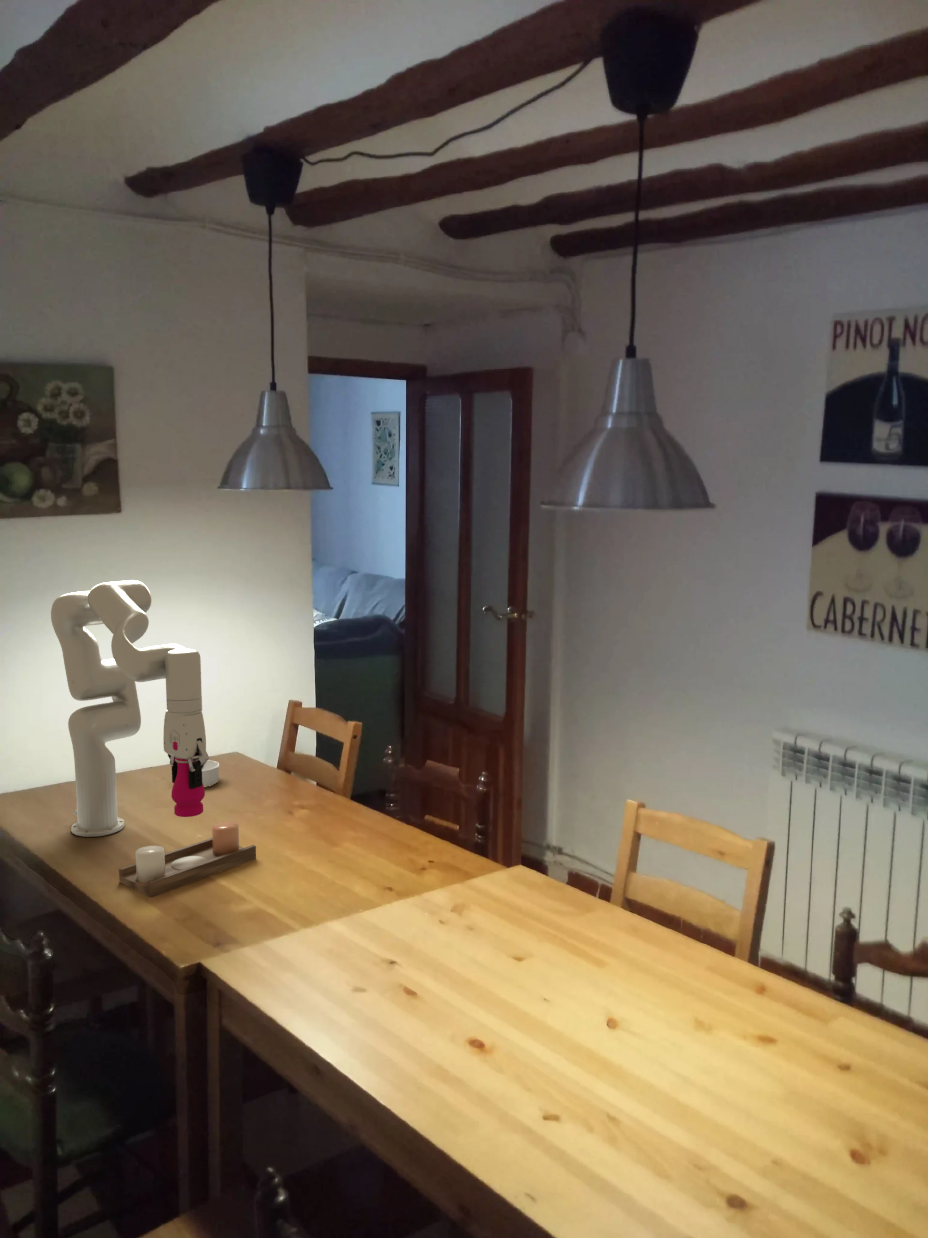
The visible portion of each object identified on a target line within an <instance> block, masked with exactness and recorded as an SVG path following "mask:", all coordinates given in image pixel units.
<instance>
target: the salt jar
mask: <svg viewBox="0 0 928 1238" xmlns="http://www.w3.org/2000/svg"><path fill="white" fill-rule="evenodd" d="M135 863H136V877H137V880H138V881H139V882H144V883H148V881H151V880H154V879H157V878H160V877H163V876H165V848H164V847H163V846H160V845H147V846H143V847H140V848H138V849H136V850H135Z"/></svg>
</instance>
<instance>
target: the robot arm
mask: <svg viewBox="0 0 928 1238" xmlns="http://www.w3.org/2000/svg"><path fill="white" fill-rule="evenodd" d="M151 607H152V594H151V592H150V590H149V588H148V586H147V585H145V583H143V582H142V581H139V580H134V579H131V580H130V579H129V580H119V581H117V580H116V581H108V582H101V583H99V584H96V585H95V586H93V587H92V588H91V589H90V590H84V591H76V592H75V591H74V592H70V593H69V592H68V593H65V594H62V595H59V596H58V597H57V598H56V599H55V600H54V601H53V602H52V604H51V610H50V620H51V625H52V628H53V630H54V634H56V637H57V639H58V642H59V644H60V647H61V651H62V657H63V664H64V669H65V676H66V681H67V686H68V690H69V691H68V692H69V694H70V696H71V697H72V698H73V700H76V701H80V702H81V701H82V702H83V701H84V702H86V701H93V700H99V699H105V698H110V697H111V699H112V701H110V702H105V703H98V704H97V703H96V704H93V705H86V706H83V707H80V708H78V709H76V710H75V711H74V712H72V713H71V714H70V716H69V718H68V721H67V725H68V726H67V727H68V732H69V735H70V736H69V737H70V741H71V744H72V751H73V760H74V774H75V775H74V777H75V778H74V779H75V795H76V808H75V810H73V815H75V816H76V818H77V821H76V822H74V823H73V824H72V825H71V827H70V829H71V830H70V831H71V833H72V834H74V835H75V836H79V837H87V838H90V837H91V838H94V837H102V836H108V835H111V834H115V833H117V832H119V831H121V830H122V829H123V828H125V820H124V819H123V818H121V817H119V816H118V801H117V800H118V799H117V798H118V796H117V772H116V760H115V759H116V758H115V756H114V754H113V753H112V751H111V750H110V749H109V748H108V747H107V746H106V743H108V742H112V741H116V740H120V739H125V738H129V737H130V738H131V736H134V735H136V734H137V733H138V732H139V731H140V729H141V725H142V715H141V710H140V709H141V708H140V702H139V698H138V691H137V685H136V683H145V682H150V681H151V682H152V681H156V680H162V679H163V680H164V679H165V691H166V692H165V695H166V697H165V698H166V710H165V713H164V714H165V715H164V720H163V741H162V742H163V751H164V752H165V753H166V754H167V757H168V758H169V764H170V766H171V782H172V783H173V784H174V782H175V780H176V777H177V770H178V765H177V762H176V761H175V759H176V757H179V758H182V759H186V760H188V762H189V767H190V771H188V777H189V788H190V789H193V788H197V787H200V786H202V769H203V768H204V765H205V763H206V762H207V760H210V757H209V754H208V751H207V735H206V727H205V720H204V714H203V696H202V693H203V692H202V664H201V663H202V662H201V661H202V659H201V654H200V653H199V651H198V650H196V649H193V648H186V647H185V646H183V645H180V644H179V643H168V644H161V645H152V646H145V647H140V648H138V647H135V645H133V644H134V643H135V642H137V641H138V640H140V639H141V638H142V637H143V636H144V635H145V634H146V632H147V630H148V627H149V622H150V621H149V618H148V615H147V614H146V613H147V612H148V611H149V610H150V608H151ZM96 625H97V626H99V625H104V626H105V627H106V628H107V629H108V630H109V632H111V634H112V637H111V644H110V645H111V649H110V650H111V653H112V658H107V659H102V657H101V655H100V648H99V643H98V641H97V639H96V637H95V636H94V635H93V634H92V633H91V632H90V631H89V630H88V629H87V628H86V627H88V626H96ZM174 741H176V742H177V743H178V744H177V746H178V745H179V746H178V750H176V751H175V750H174V749H173V742H174ZM195 753H196V756H194V755H195ZM193 759H197V761H196V762H195V764H194V761H193Z"/></svg>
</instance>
